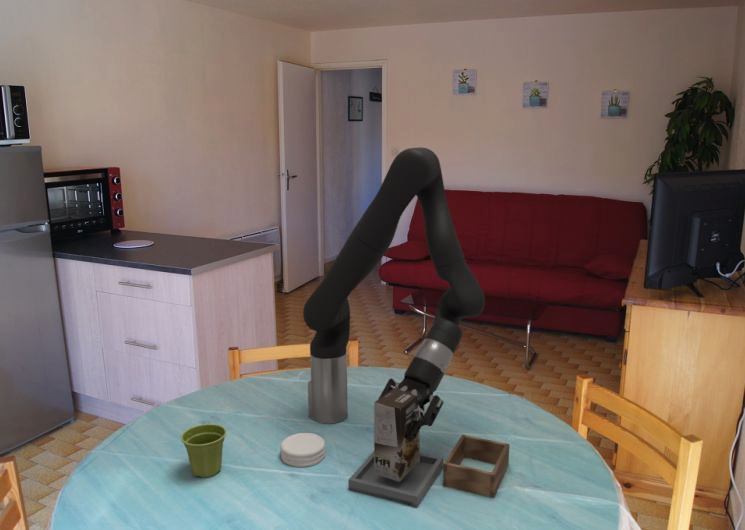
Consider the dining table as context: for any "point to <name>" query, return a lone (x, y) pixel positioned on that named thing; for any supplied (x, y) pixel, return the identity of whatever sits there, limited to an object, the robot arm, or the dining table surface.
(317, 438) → the coaster
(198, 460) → the plant pot
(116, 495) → the dining table surface
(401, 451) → the coffee box
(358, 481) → the tray
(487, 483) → the wooden frame
